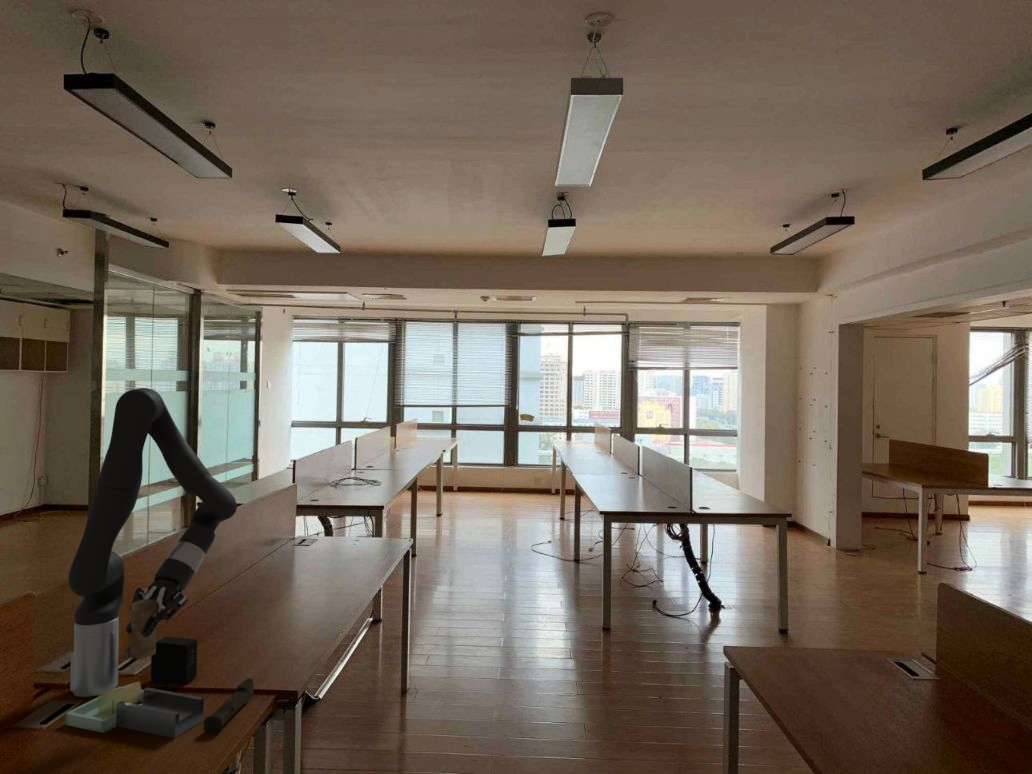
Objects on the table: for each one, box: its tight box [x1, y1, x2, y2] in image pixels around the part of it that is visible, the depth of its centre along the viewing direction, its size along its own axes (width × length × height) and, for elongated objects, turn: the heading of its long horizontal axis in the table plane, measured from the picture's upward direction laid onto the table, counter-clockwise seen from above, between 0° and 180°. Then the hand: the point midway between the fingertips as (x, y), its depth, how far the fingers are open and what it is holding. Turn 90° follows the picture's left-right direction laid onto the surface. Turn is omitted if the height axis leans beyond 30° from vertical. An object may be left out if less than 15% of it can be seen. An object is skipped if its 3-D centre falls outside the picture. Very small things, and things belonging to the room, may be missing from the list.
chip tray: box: [64, 685, 143, 734], centre depth 147 cm, size 11×14×2 cm
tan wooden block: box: [124, 599, 157, 660], centre depth 145 cm, size 4×5×12 cm
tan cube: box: [97, 688, 118, 716], centre depth 147 cm, size 4×4×4 cm
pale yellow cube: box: [111, 681, 144, 710], centre depth 146 cm, size 4×4×4 cm
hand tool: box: [203, 677, 254, 735], centre depth 149 cm, size 19×4×5 cm, turn 174°
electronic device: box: [150, 636, 198, 685], centre depth 165 cm, size 4×10×10 cm, turn 80°
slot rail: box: [116, 687, 205, 739], centre depth 143 cm, size 16×8×5 cm, turn 73°
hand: (136, 634), depth 143 cm, fingers closed on tan wooden block, 3 cm apart
